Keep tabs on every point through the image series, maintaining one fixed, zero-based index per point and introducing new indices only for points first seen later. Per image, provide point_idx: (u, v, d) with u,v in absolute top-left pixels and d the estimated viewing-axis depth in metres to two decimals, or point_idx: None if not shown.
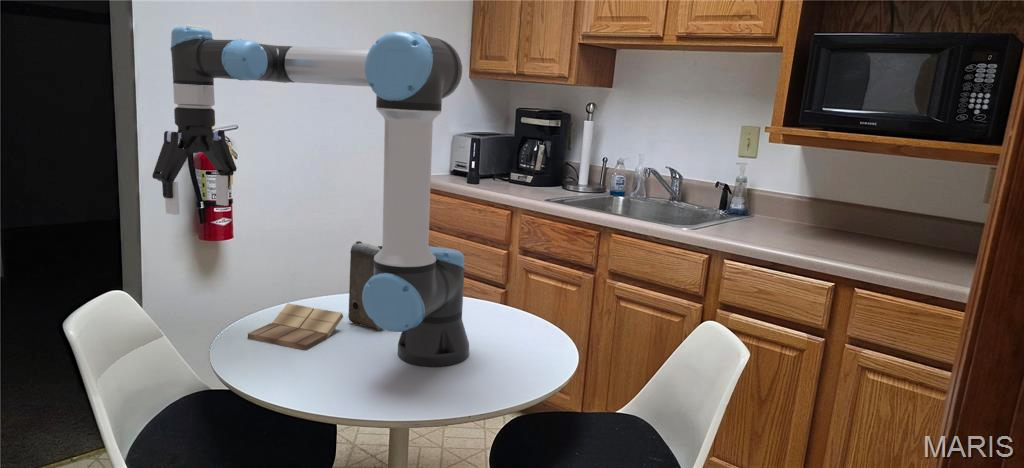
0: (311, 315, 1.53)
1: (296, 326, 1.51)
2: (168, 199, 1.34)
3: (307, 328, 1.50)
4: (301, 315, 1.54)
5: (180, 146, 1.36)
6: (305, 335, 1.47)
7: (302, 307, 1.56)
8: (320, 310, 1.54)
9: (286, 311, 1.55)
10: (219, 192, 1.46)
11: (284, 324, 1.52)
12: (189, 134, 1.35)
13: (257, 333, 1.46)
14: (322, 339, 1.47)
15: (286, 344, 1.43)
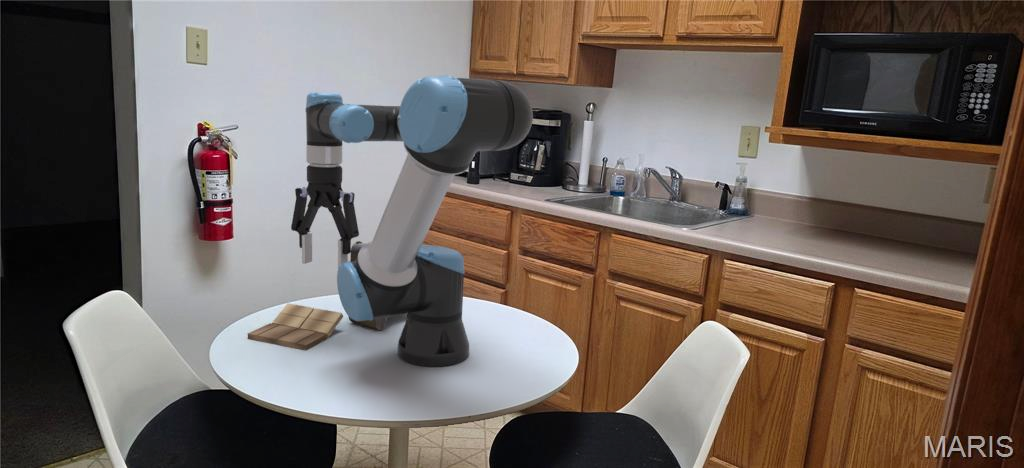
0: (311, 315, 1.53)
1: (296, 326, 1.51)
2: None
3: (307, 328, 1.50)
4: (301, 315, 1.54)
5: None
6: (305, 335, 1.47)
7: (302, 307, 1.56)
8: (320, 310, 1.54)
9: (286, 311, 1.55)
10: None
11: (284, 324, 1.52)
12: (310, 188, 1.47)
13: (257, 333, 1.46)
14: (322, 339, 1.47)
15: (286, 344, 1.43)
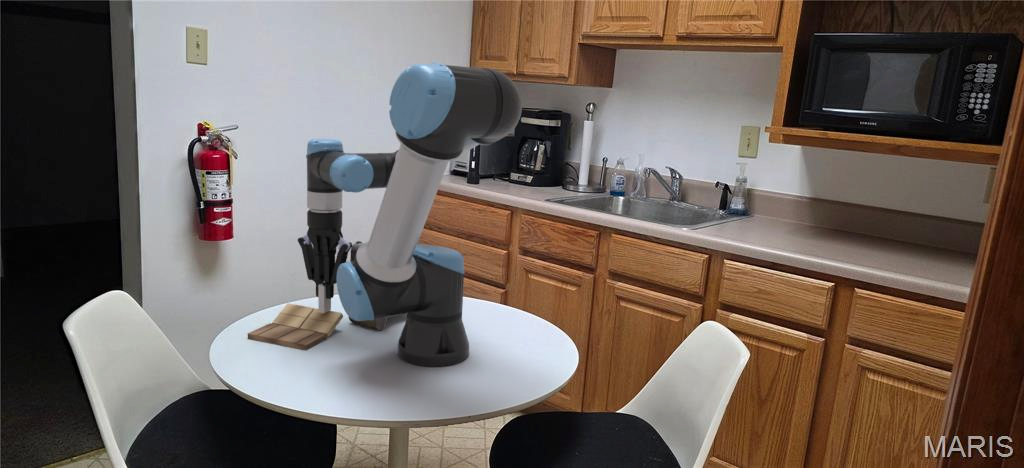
0: (311, 315, 1.53)
1: (296, 326, 1.51)
2: None
3: (307, 328, 1.50)
4: (301, 315, 1.54)
5: None
6: (305, 335, 1.47)
7: (302, 307, 1.56)
8: None
9: (286, 311, 1.55)
10: None
11: (284, 324, 1.52)
12: (310, 232, 1.49)
13: (257, 333, 1.46)
14: (322, 339, 1.47)
15: (286, 344, 1.43)
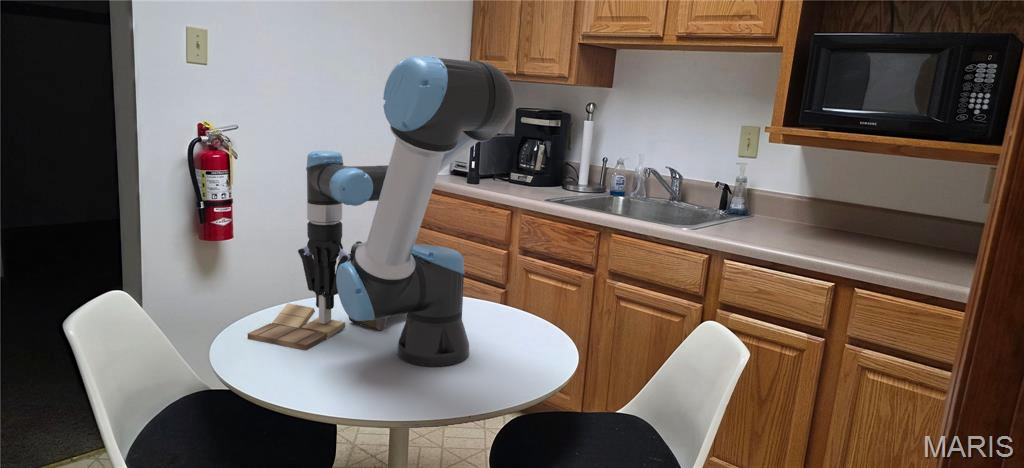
0: (314, 320, 1.55)
1: (296, 326, 1.51)
2: None
3: (309, 328, 1.51)
4: (301, 315, 1.54)
5: None
6: (305, 335, 1.47)
7: (302, 307, 1.56)
8: None
9: (286, 311, 1.55)
10: None
11: (284, 324, 1.52)
12: (310, 243, 1.50)
13: (257, 333, 1.46)
14: (322, 339, 1.47)
15: (286, 344, 1.43)
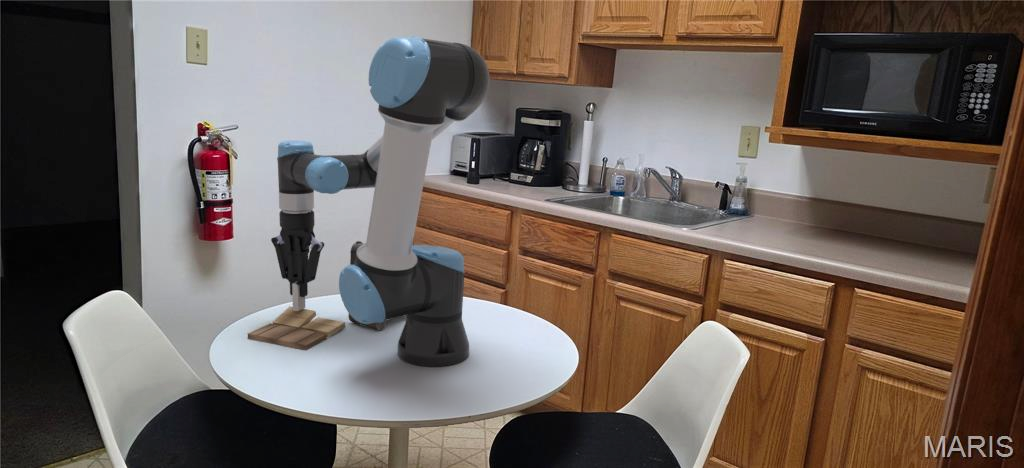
0: (314, 321, 1.55)
1: (297, 326, 1.51)
2: None
3: (309, 328, 1.51)
4: (302, 316, 1.54)
5: None
6: (305, 335, 1.47)
7: (304, 310, 1.57)
8: (323, 319, 1.56)
9: (287, 313, 1.56)
10: None
11: (285, 324, 1.52)
12: (283, 232, 1.52)
13: (257, 333, 1.46)
14: (322, 339, 1.47)
15: (286, 344, 1.43)
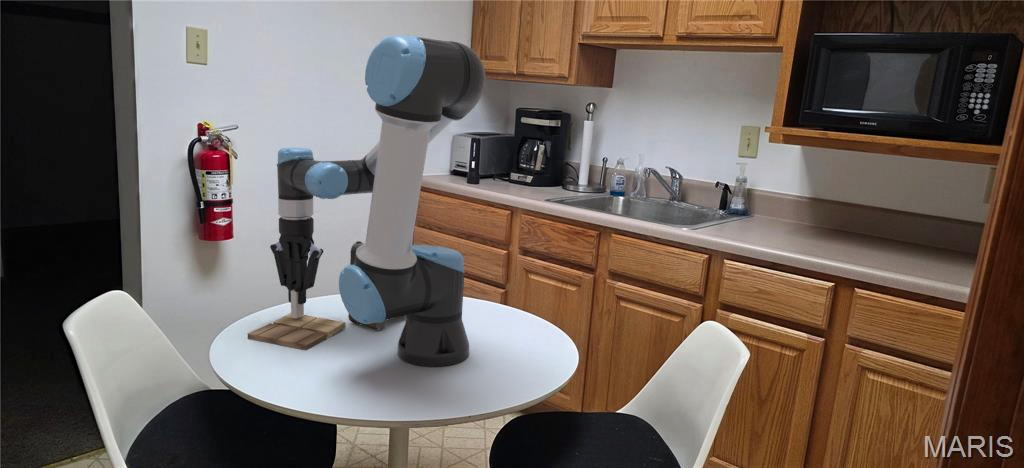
0: (314, 321, 1.55)
1: (298, 325, 1.52)
2: None
3: (309, 328, 1.51)
4: (304, 320, 1.55)
5: None
6: (305, 335, 1.47)
7: (305, 315, 1.58)
8: (323, 319, 1.56)
9: (289, 316, 1.57)
10: None
11: (286, 323, 1.53)
12: (282, 239, 1.52)
13: (257, 333, 1.46)
14: (322, 339, 1.47)
15: (286, 344, 1.43)
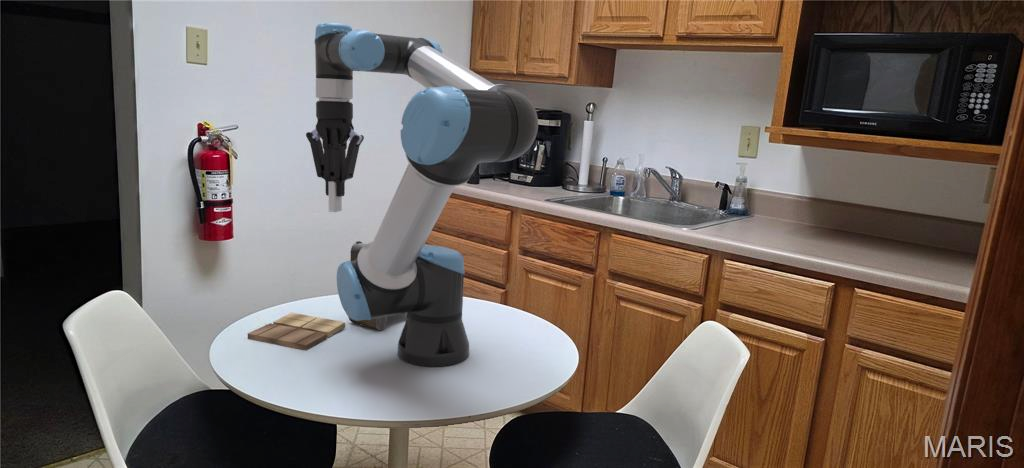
0: (314, 321, 1.55)
1: (298, 325, 1.52)
2: None
3: (309, 328, 1.51)
4: (304, 320, 1.55)
5: None
6: (305, 335, 1.47)
7: (305, 316, 1.58)
8: (323, 319, 1.56)
9: (289, 316, 1.57)
10: None
11: (286, 323, 1.53)
12: (319, 125, 1.42)
13: (257, 333, 1.46)
14: (322, 339, 1.47)
15: (286, 344, 1.43)
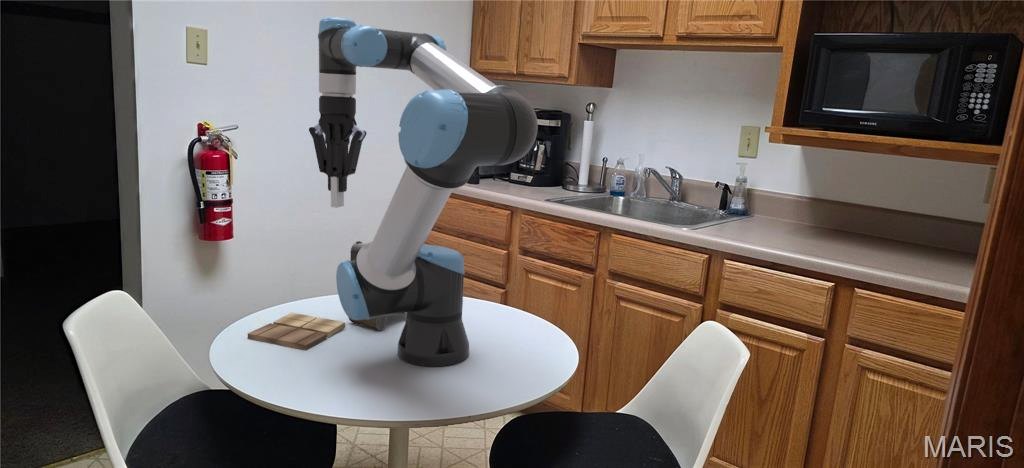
0: (314, 321, 1.55)
1: (298, 325, 1.52)
2: None
3: (309, 328, 1.51)
4: (304, 320, 1.55)
5: None
6: (305, 335, 1.47)
7: (305, 316, 1.58)
8: (323, 319, 1.56)
9: (289, 316, 1.57)
10: None
11: (286, 323, 1.53)
12: (322, 120, 1.41)
13: (257, 333, 1.46)
14: (322, 339, 1.47)
15: (286, 344, 1.43)
